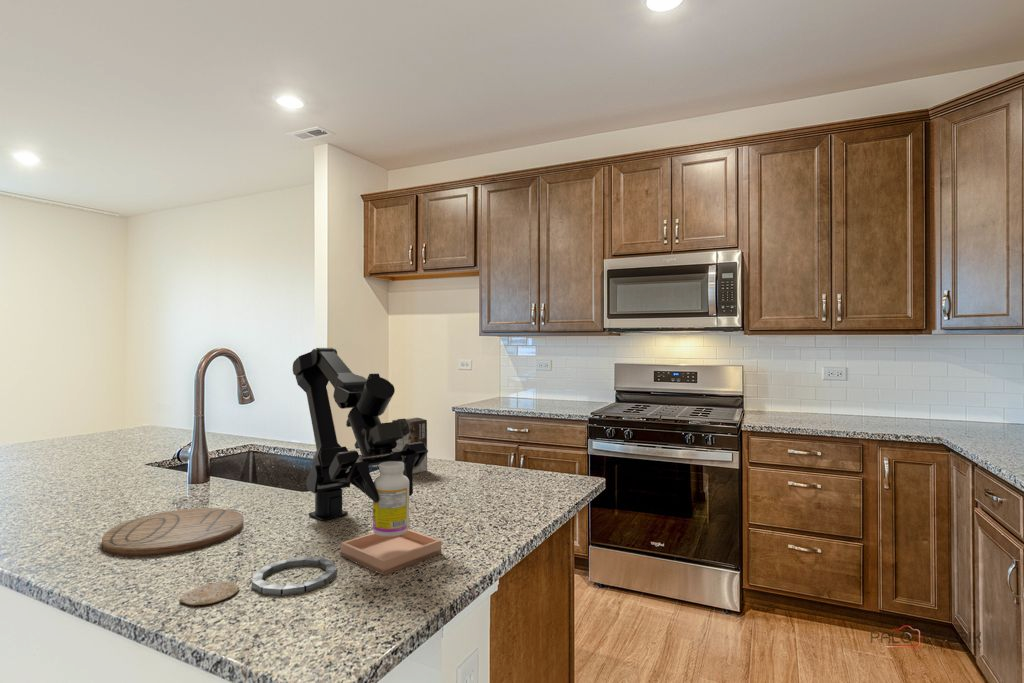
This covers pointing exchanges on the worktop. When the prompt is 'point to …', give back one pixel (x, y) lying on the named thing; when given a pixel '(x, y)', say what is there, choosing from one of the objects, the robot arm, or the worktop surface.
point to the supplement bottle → (391, 500)
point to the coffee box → (414, 439)
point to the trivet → (172, 532)
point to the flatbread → (209, 593)
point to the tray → (390, 550)
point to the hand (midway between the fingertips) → (394, 498)
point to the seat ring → (291, 589)
